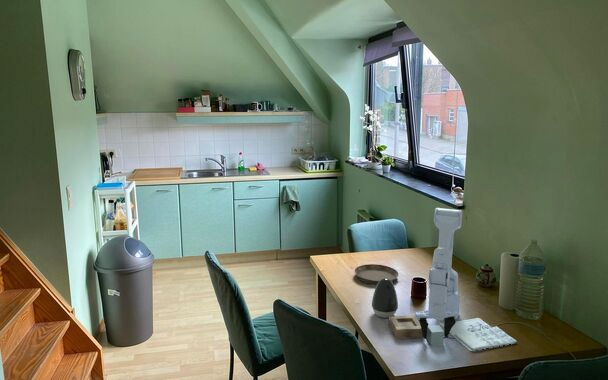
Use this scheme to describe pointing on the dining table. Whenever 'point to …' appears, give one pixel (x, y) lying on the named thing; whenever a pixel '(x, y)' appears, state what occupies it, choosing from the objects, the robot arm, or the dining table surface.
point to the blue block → (435, 335)
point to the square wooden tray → (405, 326)
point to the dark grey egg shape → (385, 299)
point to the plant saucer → (375, 273)
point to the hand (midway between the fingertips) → (435, 336)
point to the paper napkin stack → (479, 334)
